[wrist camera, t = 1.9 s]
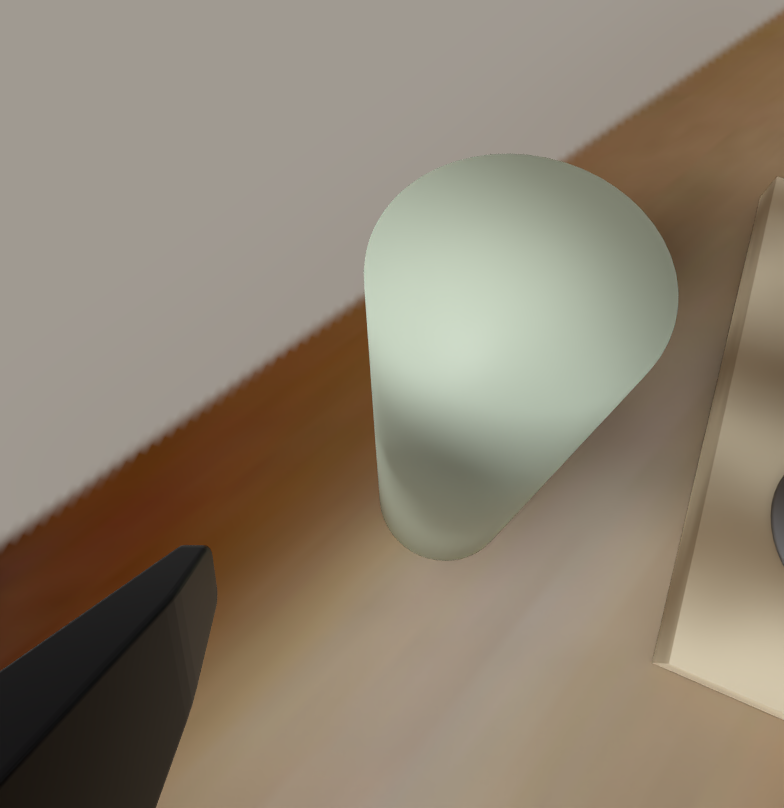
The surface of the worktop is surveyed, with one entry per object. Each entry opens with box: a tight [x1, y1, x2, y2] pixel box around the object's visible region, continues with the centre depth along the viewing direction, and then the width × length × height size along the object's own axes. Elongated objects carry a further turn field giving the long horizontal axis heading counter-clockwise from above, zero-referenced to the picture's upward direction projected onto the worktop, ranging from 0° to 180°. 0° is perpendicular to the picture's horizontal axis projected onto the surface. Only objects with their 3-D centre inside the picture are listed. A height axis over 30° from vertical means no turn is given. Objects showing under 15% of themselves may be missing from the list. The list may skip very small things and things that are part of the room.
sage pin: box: [364, 154, 678, 561], centre depth 14 cm, size 4×4×13 cm
